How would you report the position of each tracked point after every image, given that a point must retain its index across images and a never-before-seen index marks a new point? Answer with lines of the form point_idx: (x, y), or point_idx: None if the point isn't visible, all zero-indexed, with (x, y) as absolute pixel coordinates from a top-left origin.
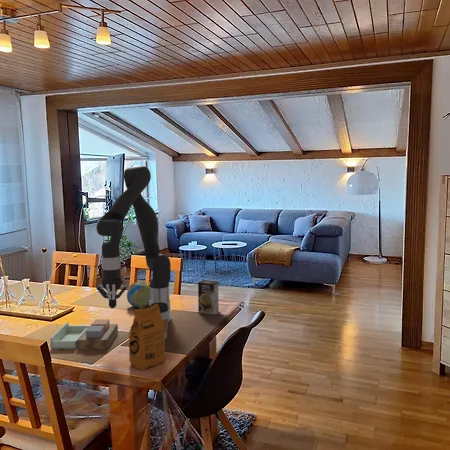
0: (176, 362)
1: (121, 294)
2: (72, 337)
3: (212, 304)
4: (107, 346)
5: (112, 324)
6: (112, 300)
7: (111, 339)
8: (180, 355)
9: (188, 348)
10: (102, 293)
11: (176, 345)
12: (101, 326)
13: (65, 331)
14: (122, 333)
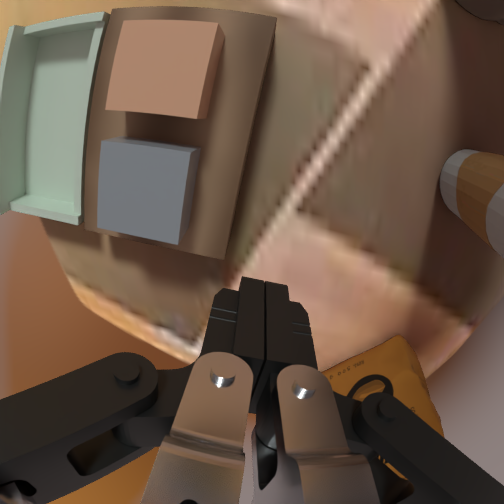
0: (432, 369)
1: (392, 488)
2: (58, 97)
3: None
4: (230, 233)
5: (242, 17)
6: (255, 407)
7: (245, 160)
8: (460, 336)
9: (496, 297)
10: (75, 464)
11: (483, 268)
12: (172, 162)
13: (24, 66)
14: (301, 50)
